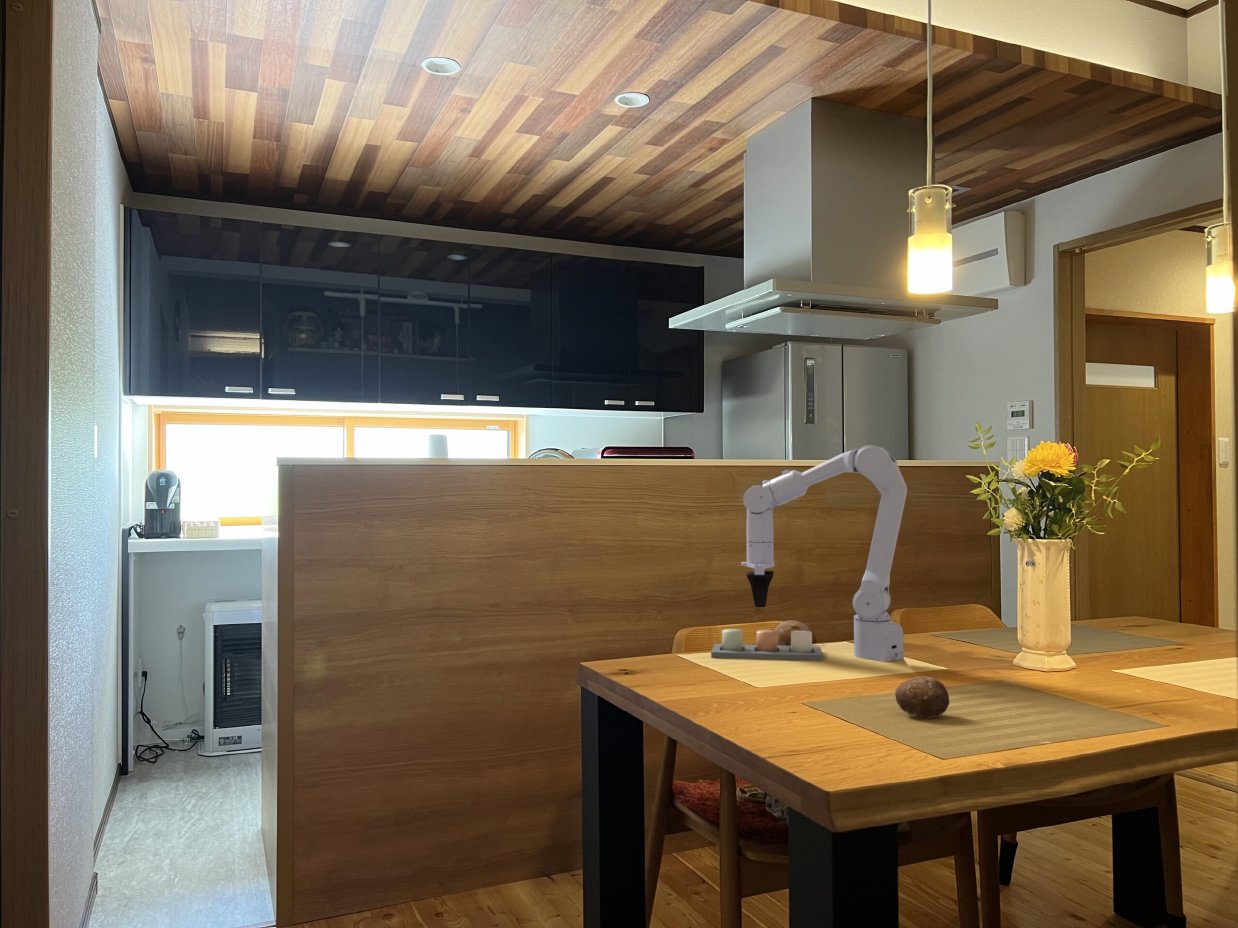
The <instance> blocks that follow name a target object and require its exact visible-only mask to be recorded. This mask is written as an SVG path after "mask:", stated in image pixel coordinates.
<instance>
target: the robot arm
mask: <svg viewBox="0 0 1238 928" xmlns="http://www.w3.org/2000/svg"><path fill="white" fill-rule="evenodd" d="M842 473H853V474H854V473H855V474H856V473H857V474H861V475H862V476H863V477H865V478H867V479H868V480H869V481H870V482H872V484H873V485H874V487H875V488H876V489H877V490H878V492H879V493H880V501H879V506H878V510H877V515H876V520H875V525H874V529H873V535H872V539H871V543H870V549H869V553H868V559H867V563H866V568H865V572H864V574H863V577H862V579H861V584H860V587H859V589H858V590H857V591H856V592H855V594H854V595H853V598H852V609H853V610H854V612H855V613H856V614H855V615H854V614H853V652H854V653H853V656H854V657H856V658H860V659H863V660H864V659H865V660H874V661H879V662H884V663H886V662H892V661H899V660H905V653H904V652H905V651H904V647H905V645H904V644H905V642H904V641H905V640H904V639H905V637H904V630H903V627H902V626H901V625H900V624H899V623H897V622H893V621H892V620H891V615H890V614H889V613H888V611H887V610H888V609H889V608H890V605H891V602H892V600H891V594H890V591H889V590H890V589H889V588H890V583H891V582H890V581H891V578H890V575H891V569H892V566H893V561H894V556H895V552H896V547H897V542H898V537H899V532H900V528H901V521H902V519H903V518H902V517H903V512H904V508H905V504H906V503H905V502H906V499H907V494H908V487H907V484H906V482H905V480H904V476H903V475H902V473H901V470H900V468H899V465H898V461H897V459H896V458H895V457H894V456H893V455H892V454H891V453H890V451H888V450H887V449H885V447H882V446H877V445H875V444H874V445H873V444H868V445H864V446H861V447H860V448H859V449H858V448H857V449H856V448H855V449H851V450H849V451H846V452H842V453H841V454H837V455H836V456H833V457H832V458H830V459H828V460H825V461H824V462H822V463H820V464H818V465H816V466H813V467H810V468H809V469H807V470H806V471H803V472H800V471H798V470H796V469H793V470H790V469H786V470H783V471H781V475H779V476H777V477H775V478H772V479H769V480H768V479H765V480H763V481H761V484H762V485H759V484H757V485H752V486H751V487H750V488H747V490H745V492H744V494H743V496H742V497H743V498H742V501H743V505H744V507H745V508H746V521H745V522H746V523H745V524H746V525H745V526H746V561H742V562H740V564H741V565H740V566H742V567H747V568H751V569H753V570H754V571H747V572H746V575H745V576H746V577H747V580H748V582H749V584H750V588H751V592H752V598H753V603H754V607H755V608H766V605H767V600H768V594H769V587H770V584H771V582H772V579H773V577H774V571H773V570H767V569H769V568H774V567H775V564H776V563H775V562H774V559H775V558H774V554H775V553H774V549H775V548H774V519H773V518H774V515H773V514H774V512H773V511H774V508H775V507H776V506H777V507H780V506H781V505H784V504H786V503H789V502H791V501H793V500H795V499H798V498H800V497H803V496H805V495H806V493H807V491H808V488H809V487H810V486H813V485H814V484H817V483H820V482H823V481H825V480H828V479H831V478H833V477H836V476H838V475H840V474H842Z"/></svg>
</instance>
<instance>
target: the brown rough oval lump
mask: <svg viewBox="0 0 1238 928" xmlns="http://www.w3.org/2000/svg"><path fill="white" fill-rule="evenodd" d="M894 695H895V701H896V704H897V705H898V706H899V708H900V709H901V710H902V712H904V713H905V714H908V715H909V716H911V717H915V718H917V719H932V718H937V717H939V716H941V715H943V714H944V713H946V711H947V709H948V707H949V705H950V696H949V692H948V690H947V689H946V687H945V685H944V684H943V683H942V682H941V681H939V679H938V678H936V677H932V676H927V675H925V676H923V675H922V676H915V677H913V678H912V677H911V678H910V679H907V680H905V681H903V682H901V683H900V684H899V685H898V686H897V688H896V690H895V692H894Z"/></svg>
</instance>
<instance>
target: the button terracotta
mask: <svg viewBox="0 0 1238 928" xmlns="http://www.w3.org/2000/svg"><path fill="white" fill-rule="evenodd" d="M755 633H756V634H755V635H756V637H755V639H756V641H755V642H756V643H755V645H756V651H766V652H777V646H778V644H777V631H775V630H774V629H758V630H756V632H755Z"/></svg>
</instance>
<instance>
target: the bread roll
mask: <svg viewBox="0 0 1238 928" xmlns="http://www.w3.org/2000/svg"><path fill="white" fill-rule="evenodd" d="M773 630H775V631H777V645H779V646H791V631H810V632H812V645H814V644H816V643H817V642H818V640H817V637H816V634H815V632H814V631H813V629H812V628H811V627H810V626H809V625H807V624H805V622H801V621H799V620H790V619H789V620H785V621H783V622H781V623H779V624H778V625H776V627H774V629H773Z"/></svg>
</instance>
